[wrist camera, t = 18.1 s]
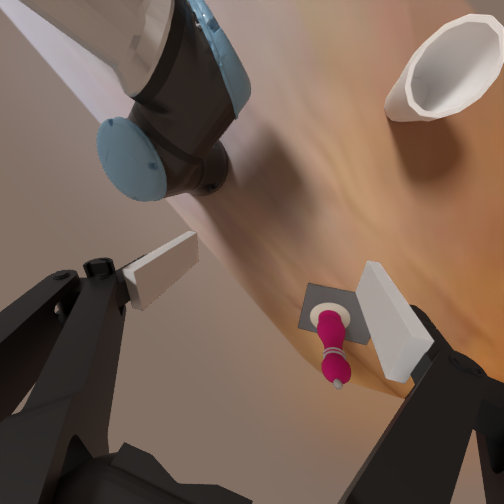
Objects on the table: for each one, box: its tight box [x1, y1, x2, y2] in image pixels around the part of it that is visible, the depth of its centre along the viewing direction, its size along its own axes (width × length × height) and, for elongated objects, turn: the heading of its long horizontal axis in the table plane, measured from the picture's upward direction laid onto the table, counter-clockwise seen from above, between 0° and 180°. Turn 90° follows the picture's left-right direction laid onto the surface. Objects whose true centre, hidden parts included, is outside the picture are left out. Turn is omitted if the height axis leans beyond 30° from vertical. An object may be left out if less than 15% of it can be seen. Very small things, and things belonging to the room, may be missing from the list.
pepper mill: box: [317, 310, 351, 389], centre depth 48 cm, size 7×7×20 cm
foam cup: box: [384, 14, 504, 122], centre depth 29 cm, size 10×9×13 cm
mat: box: [298, 283, 371, 345], centre depth 56 cm, size 20×17×1 cm
